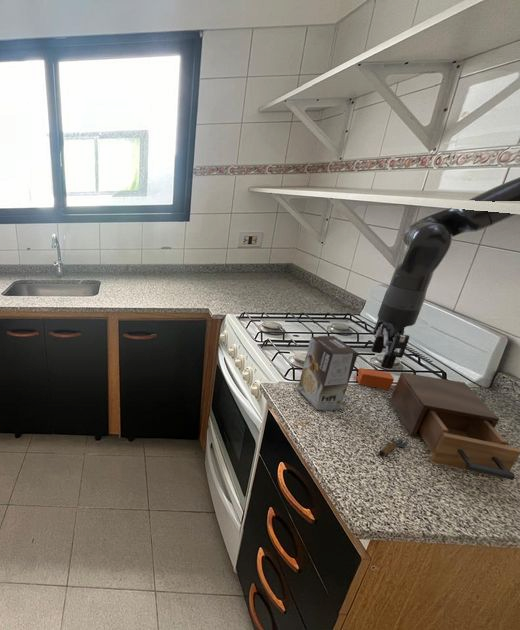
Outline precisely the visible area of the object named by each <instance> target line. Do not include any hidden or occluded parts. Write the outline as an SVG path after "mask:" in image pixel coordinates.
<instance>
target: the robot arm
mask: <svg viewBox="0 0 520 630" xmlns="http://www.w3.org/2000/svg"><path fill="white" fill-rule="evenodd" d="M468 200H475V201H492V202H495V201H520V177H517V178H514V179H511V180H509V181H506V182H504V183H502V184H499V185H497V186H495V187H492V188H490V189H488V190H486V191H485V192H482V193H480V194H478V195H476V196H474V197H472V198H470V199H468ZM451 208H452V207H449V208H446V209H443V210H441V211H438V212H435V213H432V214H430V215H427V216H425V217H423V218H421V219H418V220H416V221H415V222H413V223H412V224H410V225H409V226H408V227H407V228H406V229H405V230H404V232H403V235H402V240H403V243H404V244H405V245H406V246H407V247H408V249H407V251H406V254H405V256H404V257H403V261H400V262H399V263H398V264H397V265H396V267H395V268H394V271H393V273H392V277H391V279H390V281H389V282H390V283H389V285H388V287H387V289H386V290H385V293H384V295H383V298H382V302H381V305H380V307H379V310H378V312H377V320H376V323H375V326H374V328H373V330H372V334H373V335H374V336H373V339H374V340H373V344H372V346H371V350H370V351H371V352H372V353H375V354H381V353H382V352H383V351H384V347H385V353H384V355H383V357H382V361H381V363H380V366H381V368H383V369H389V370H390V369H393V367H394V364H395V362H396V359H399V358H400V359H403V357H404V354H405V352H406V349H407V346H408V343H409V340H410V335H409V334H405V329H406V327H412V326H414V325H415V324H416V323H417V320H418V317H419V315H420V312H421V310H422V307H423V305H424V303H425V300H426V296H427V293H428V292H427V291H428V288H429V285H430V283H431V281H432V279H433V276H434V272H435V271H436V270H437V269H438V267H439V266H440V264H441V263H442V262H443V260H444V258H445V257H446V255H447V253H448V252H449V250H450V248H451V246H452V242H453V237H456V236H459V235H462V234H464V233H476V232H480V231H483V230H485V229H488V228H489V227H492V226H495V225H498V224H499V223H501V222H503V221H506V220H508V219H511V218H513V217H516V216H517V215H519V214H510V213H499V212H488V211H474V210H465V209H451Z"/></svg>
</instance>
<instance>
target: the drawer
mask: <svg viewBox="0 0 520 630" xmlns="http://www.w3.org/2000/svg"><path fill="white" fill-rule="evenodd" d="M418 432H419V433H420V435H421V436H422V438H423V439H422V438H421V439H422V440H423V441H424V443H425V444H426V446H427V448H428V450H429V451H430V453H431V455H430V457H429V459H430V461H431V463H434V464H438V465H442V466H446V467H452V468H456V469H459V470H464V471H468V472H474V473H477V474H481V475H485V476H486V475H487V476H489V477H490V476H491V477H495V478H499V479H503V480H509V481H514V480H515V479H516V474H515V473H514V472H513V471H511V469H512V468H513V467H514V465H515V464H516V462H517V460H518V458H519V457H520V449H519V448H518V447H516V446H512V445H507V444H508V441H507V440H506V439H505V438H504V436H502V434H500V432H498V430H497V429H496V427H495V428H494V427H493V426H492V425H491V424H490V423H489V422H488V420H485V419H480V418H474V417H469V416H464V415H458V414H453V413H448V412H442V411H437V410H432V409H427V411H426V413H425V415H424V417H423V420H422V422H421V424H420V426H419V428H418Z"/></svg>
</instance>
